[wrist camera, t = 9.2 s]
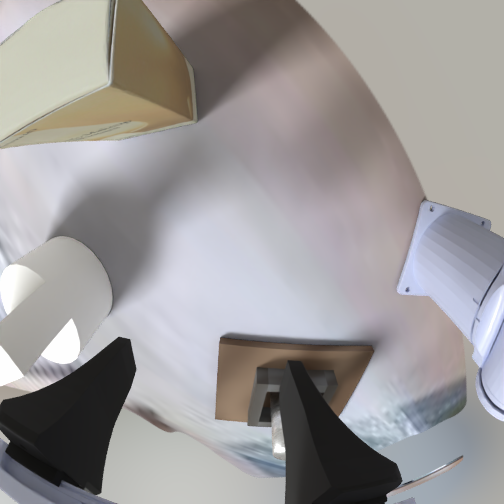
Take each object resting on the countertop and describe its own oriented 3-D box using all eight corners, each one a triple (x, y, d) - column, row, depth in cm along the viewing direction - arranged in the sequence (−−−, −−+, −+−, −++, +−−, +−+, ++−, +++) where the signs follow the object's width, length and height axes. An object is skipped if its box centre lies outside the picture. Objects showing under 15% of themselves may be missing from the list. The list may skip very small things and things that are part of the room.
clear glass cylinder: (301, 377, 23) (311, 439, 17) (310, 397, 24) (319, 454, 18) (264, 387, 24) (267, 448, 17) (276, 406, 25) (279, 463, 18)
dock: (371, 345, 23) (381, 365, 20) (333, 417, 27) (337, 435, 25) (220, 337, 22) (216, 360, 20) (215, 413, 27) (213, 433, 24)
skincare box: (117, 142, 16) (-23, 160, 5) (112, 87, 15) (-19, 57, 3) (203, 123, 16) (112, 87, 5) (197, 64, 15) (118, -34, 3)
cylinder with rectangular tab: (77, 334, 23) (19, 416, 12) (27, 263, 20) (-51, 326, 9) (131, 305, 21) (63, 414, 10) (72, 216, 18) (-38, 282, 7)
